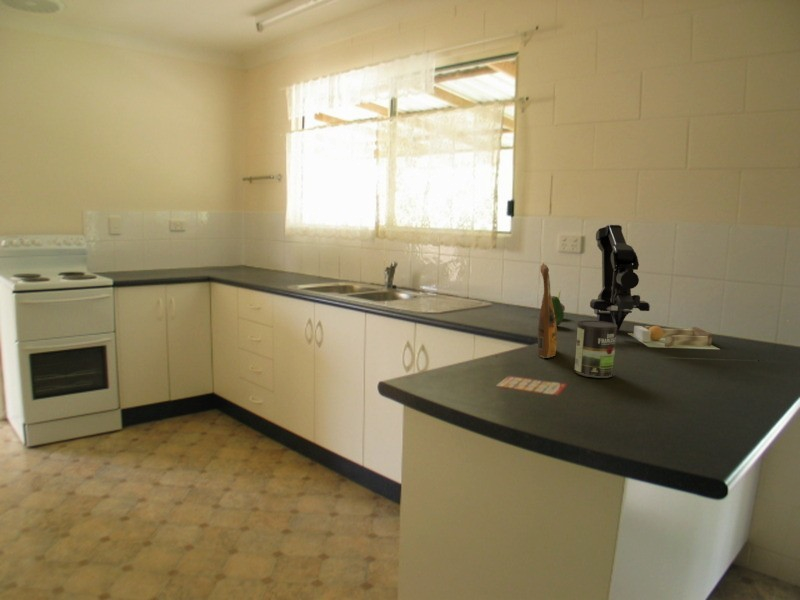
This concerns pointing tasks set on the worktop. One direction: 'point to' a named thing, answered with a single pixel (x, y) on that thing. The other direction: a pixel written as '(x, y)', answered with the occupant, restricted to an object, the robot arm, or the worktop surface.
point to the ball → (656, 333)
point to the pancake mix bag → (547, 320)
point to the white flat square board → (662, 344)
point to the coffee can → (595, 347)
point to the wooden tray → (686, 337)
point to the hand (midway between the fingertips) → (617, 329)
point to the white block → (642, 333)
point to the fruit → (557, 310)
